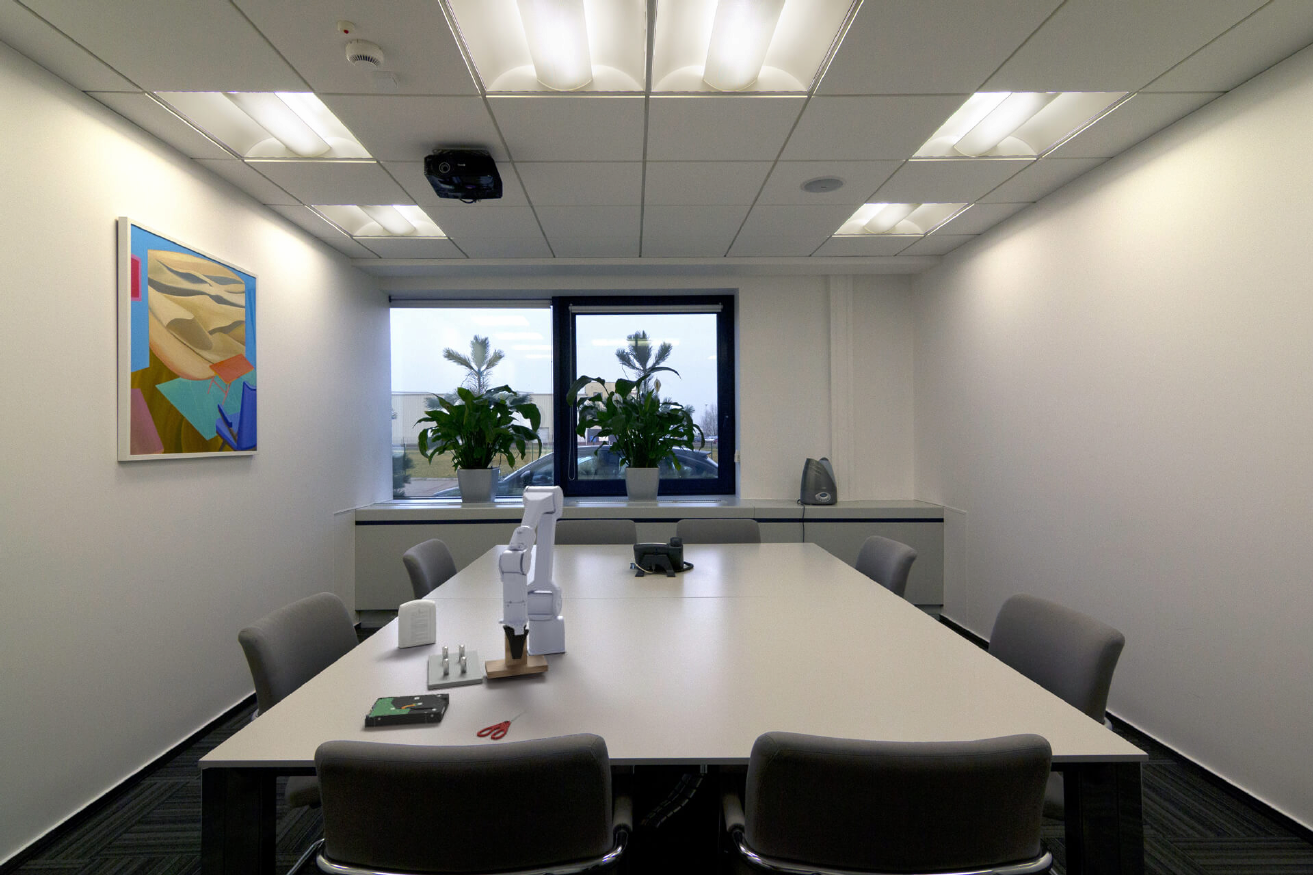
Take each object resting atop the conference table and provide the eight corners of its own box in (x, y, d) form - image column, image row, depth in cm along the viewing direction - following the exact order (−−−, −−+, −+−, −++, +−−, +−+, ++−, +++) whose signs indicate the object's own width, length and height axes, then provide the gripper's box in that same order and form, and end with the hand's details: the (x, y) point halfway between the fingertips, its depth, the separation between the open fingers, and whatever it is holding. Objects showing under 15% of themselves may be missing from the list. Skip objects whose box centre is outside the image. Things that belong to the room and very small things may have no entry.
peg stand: (476, 654, 178) (476, 637, 178) (482, 682, 157) (482, 663, 157) (428, 659, 174) (428, 642, 174) (428, 689, 154) (428, 669, 154)
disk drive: (449, 705, 146) (377, 709, 144) (449, 692, 146) (377, 696, 144) (441, 725, 136) (363, 730, 133) (441, 711, 136) (363, 715, 133)
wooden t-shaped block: (542, 660, 168) (542, 626, 168) (548, 670, 160) (547, 635, 160) (485, 667, 163) (484, 632, 163) (487, 678, 156) (487, 641, 156)
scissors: (474, 738, 129) (474, 733, 129) (515, 710, 142) (515, 705, 142) (498, 742, 127) (498, 737, 127) (537, 714, 140) (537, 709, 140)
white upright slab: (434, 639, 192) (433, 596, 192) (438, 643, 189) (437, 599, 189) (396, 645, 187) (396, 601, 187) (400, 649, 183) (399, 604, 183)
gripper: (495, 594, 167) (496, 649, 167) (501, 608, 154) (502, 668, 154) (524, 592, 170) (524, 646, 170) (532, 606, 156) (533, 664, 156)
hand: (516, 656), depth 162 cm, fingers closed on wooden t-shaped block, 2 cm apart
